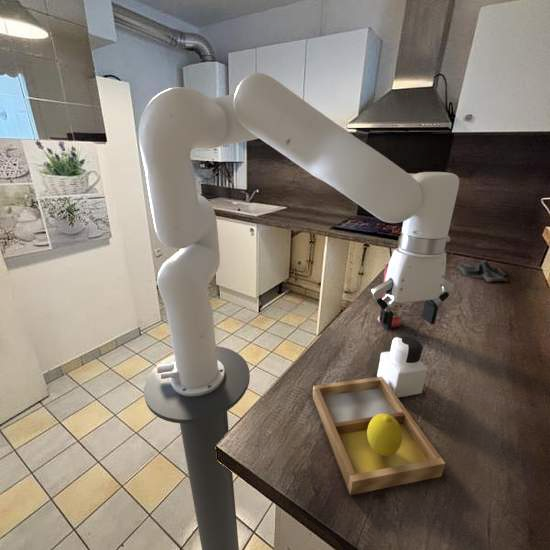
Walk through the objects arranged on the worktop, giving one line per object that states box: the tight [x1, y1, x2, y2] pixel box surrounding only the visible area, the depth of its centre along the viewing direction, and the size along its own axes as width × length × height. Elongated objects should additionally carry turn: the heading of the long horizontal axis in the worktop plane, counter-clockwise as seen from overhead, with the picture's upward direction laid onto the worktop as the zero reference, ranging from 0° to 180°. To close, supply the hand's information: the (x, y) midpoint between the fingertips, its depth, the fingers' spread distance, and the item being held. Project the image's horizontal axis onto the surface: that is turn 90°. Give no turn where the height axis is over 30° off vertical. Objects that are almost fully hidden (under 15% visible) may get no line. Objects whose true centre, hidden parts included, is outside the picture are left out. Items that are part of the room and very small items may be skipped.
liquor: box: [377, 235, 405, 329], centre depth 85 cm, size 7×7×28 cm
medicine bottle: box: [376, 335, 429, 399], centre depth 65 cm, size 7×7×12 cm
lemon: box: [367, 414, 402, 456], centre depth 50 cm, size 6×6×8 cm
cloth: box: [458, 259, 509, 283], centre depth 128 cm, size 22×19×6 cm
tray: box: [312, 376, 446, 496], centre depth 55 cm, size 16×20×3 cm
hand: (406, 323), depth 60 cm, fingers open, 9 cm apart
